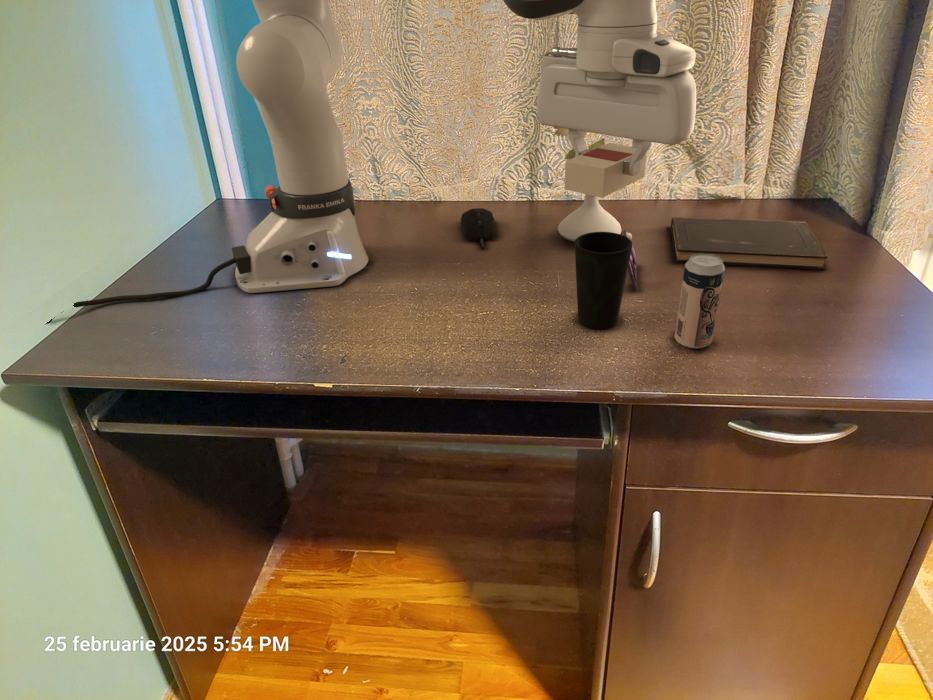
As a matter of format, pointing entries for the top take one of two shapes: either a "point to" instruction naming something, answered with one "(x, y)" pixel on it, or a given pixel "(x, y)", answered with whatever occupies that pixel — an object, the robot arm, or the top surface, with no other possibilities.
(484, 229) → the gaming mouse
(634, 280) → the purple toy figure frame
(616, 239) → the cup
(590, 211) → the flower in vase
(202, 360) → the top surface
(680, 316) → the beer can
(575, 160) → the packet
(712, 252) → the hardcover book
